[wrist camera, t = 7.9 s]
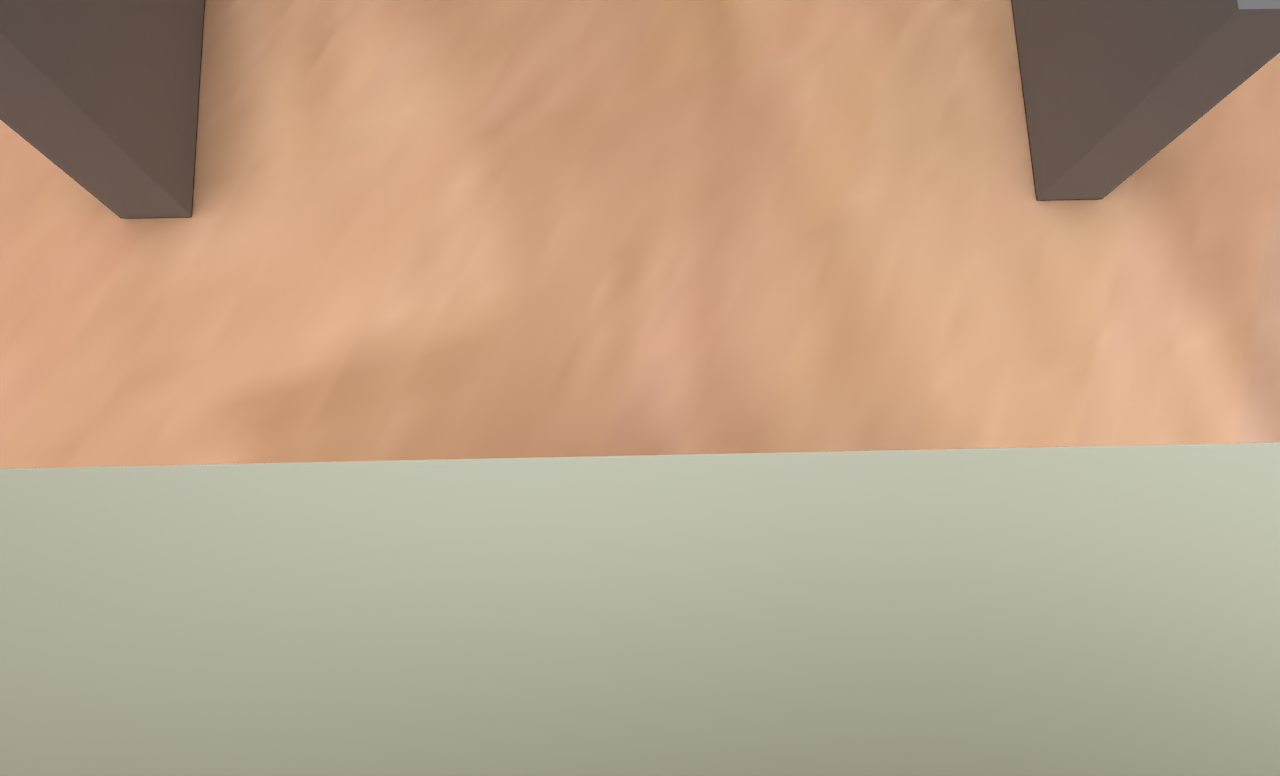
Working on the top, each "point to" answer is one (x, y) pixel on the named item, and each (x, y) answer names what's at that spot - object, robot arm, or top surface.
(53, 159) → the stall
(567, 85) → the top surface
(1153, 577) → the sage block
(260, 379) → the top surface
